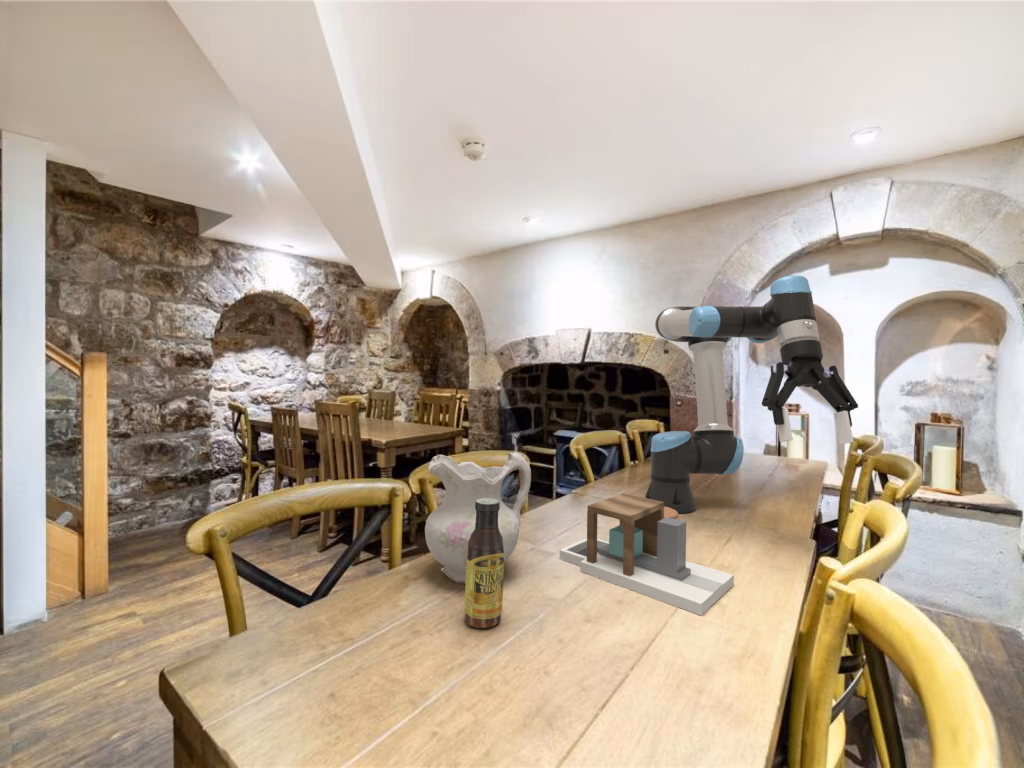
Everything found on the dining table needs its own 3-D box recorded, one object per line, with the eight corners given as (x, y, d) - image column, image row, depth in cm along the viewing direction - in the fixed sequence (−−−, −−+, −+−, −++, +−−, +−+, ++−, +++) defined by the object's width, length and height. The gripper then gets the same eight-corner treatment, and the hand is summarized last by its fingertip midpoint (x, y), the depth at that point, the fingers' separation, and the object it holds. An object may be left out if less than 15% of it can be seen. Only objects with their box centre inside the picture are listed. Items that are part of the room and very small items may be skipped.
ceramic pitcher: (506, 552, 107) (503, 446, 109) (549, 579, 90) (544, 452, 91) (415, 569, 98) (413, 453, 99) (444, 603, 80) (440, 461, 81)
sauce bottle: (473, 634, 71) (473, 508, 71) (458, 616, 76) (459, 498, 76) (510, 624, 74) (511, 503, 74) (494, 607, 79) (494, 494, 79)
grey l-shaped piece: (608, 548, 101) (608, 503, 101) (690, 573, 89) (691, 522, 88) (598, 553, 99) (598, 507, 98) (681, 580, 86) (682, 527, 86)
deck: (595, 542, 111) (595, 534, 111) (733, 585, 89) (733, 574, 89) (553, 561, 99) (553, 551, 99) (701, 615, 77) (701, 603, 77)
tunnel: (622, 544, 105) (622, 493, 105) (663, 556, 98) (664, 502, 98) (586, 561, 95) (587, 505, 94) (629, 576, 88) (630, 516, 87)
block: (621, 546, 100) (621, 524, 100) (642, 553, 96) (642, 529, 96) (609, 553, 96) (609, 529, 96) (630, 559, 93) (630, 535, 93)
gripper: (757, 334, 93) (773, 436, 87) (865, 341, 97) (887, 441, 91) (735, 346, 100) (748, 442, 94) (836, 353, 104) (855, 446, 98)
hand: (816, 442), depth 93 cm, fingers open, 13 cm apart
